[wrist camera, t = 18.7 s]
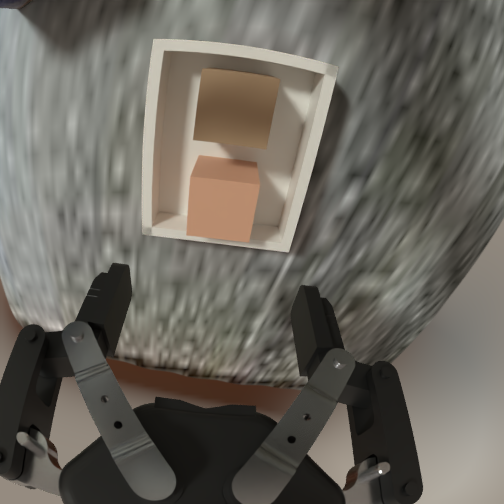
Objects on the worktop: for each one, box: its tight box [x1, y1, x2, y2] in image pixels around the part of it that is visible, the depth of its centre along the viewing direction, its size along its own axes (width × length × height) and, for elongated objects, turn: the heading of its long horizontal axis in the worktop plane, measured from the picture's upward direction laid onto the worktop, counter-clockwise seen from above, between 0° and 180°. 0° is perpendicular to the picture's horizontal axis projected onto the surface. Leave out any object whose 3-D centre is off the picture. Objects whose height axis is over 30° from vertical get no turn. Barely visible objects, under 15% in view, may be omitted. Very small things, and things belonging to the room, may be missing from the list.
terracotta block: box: [186, 155, 260, 242], centre depth 22 cm, size 4×4×4 cm
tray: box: [142, 39, 339, 252], centre depth 21 cm, size 15×12×4 cm
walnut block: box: [193, 67, 280, 149], centre depth 18 cm, size 4×4×4 cm
